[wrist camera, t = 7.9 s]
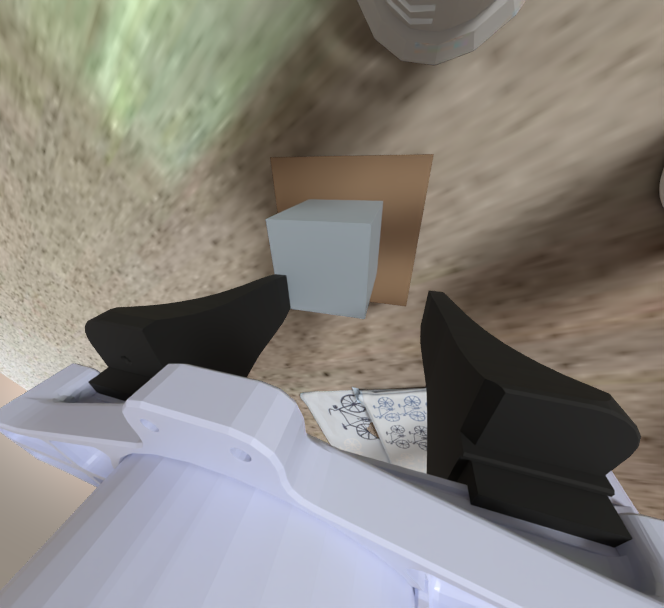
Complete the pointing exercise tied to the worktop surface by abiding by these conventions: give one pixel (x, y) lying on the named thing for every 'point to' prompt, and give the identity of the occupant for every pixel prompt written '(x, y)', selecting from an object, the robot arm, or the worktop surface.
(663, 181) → the pill bottle
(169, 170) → the worktop surface
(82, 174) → the worktop surface
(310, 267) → the slate cube
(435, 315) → the robot arm
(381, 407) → the white bicycle print cloth
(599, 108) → the worktop surface
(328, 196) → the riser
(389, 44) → the french press
